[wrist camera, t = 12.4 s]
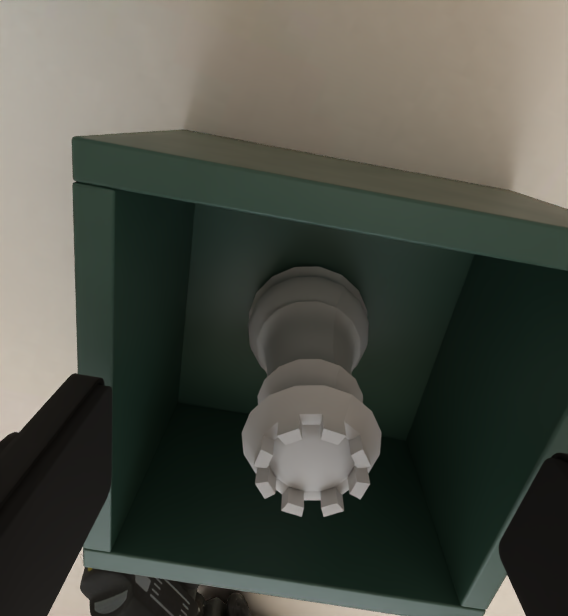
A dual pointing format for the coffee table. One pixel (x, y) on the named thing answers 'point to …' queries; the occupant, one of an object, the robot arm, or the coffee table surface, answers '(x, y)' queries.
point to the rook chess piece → (310, 391)
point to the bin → (368, 373)
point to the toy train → (152, 597)
